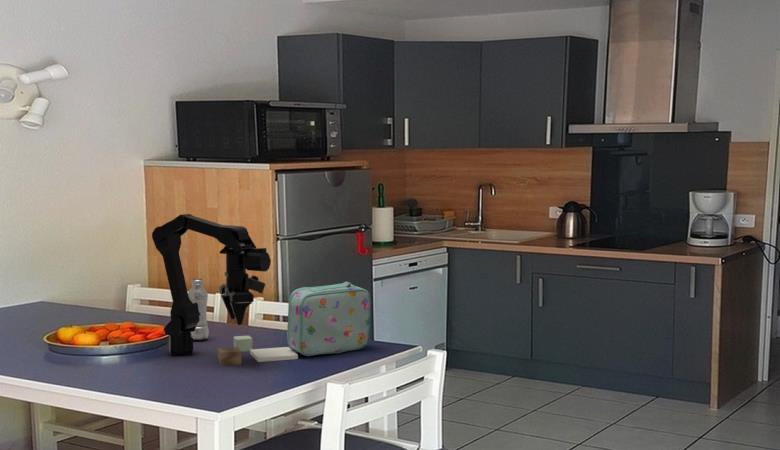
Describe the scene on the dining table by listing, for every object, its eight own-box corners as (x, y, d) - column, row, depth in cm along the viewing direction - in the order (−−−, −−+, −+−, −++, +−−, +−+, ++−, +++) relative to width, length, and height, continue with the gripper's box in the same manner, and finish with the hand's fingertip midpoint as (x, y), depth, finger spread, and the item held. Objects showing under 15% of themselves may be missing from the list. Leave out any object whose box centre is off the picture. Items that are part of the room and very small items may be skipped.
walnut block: (220, 366, 266) (220, 352, 265) (217, 361, 271) (217, 348, 271) (241, 364, 268) (241, 351, 267) (238, 360, 273) (238, 347, 273)
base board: (258, 362, 270) (258, 358, 270) (249, 353, 282) (249, 349, 282) (297, 359, 274) (297, 355, 274) (288, 350, 286) (288, 346, 286)
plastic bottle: (206, 342, 298) (205, 280, 296) (185, 342, 298) (184, 280, 296) (210, 338, 304) (210, 278, 302) (190, 337, 304) (189, 277, 303)
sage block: (236, 352, 284) (236, 339, 283) (233, 349, 288) (233, 336, 288) (252, 351, 285) (252, 338, 285) (249, 348, 290) (249, 335, 290)
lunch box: (356, 343, 297) (356, 277, 295) (374, 349, 289) (375, 281, 287) (284, 354, 281) (283, 284, 280) (301, 360, 273) (301, 288, 271)
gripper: (270, 272, 265) (271, 325, 266) (255, 264, 282) (255, 314, 284) (232, 274, 261) (232, 328, 262) (218, 266, 278) (219, 317, 279)
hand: (236, 321), depth 272 cm, fingers open, 9 cm apart
